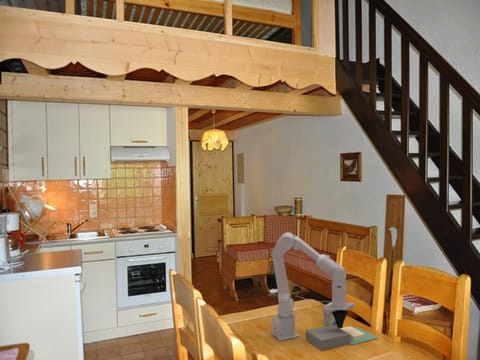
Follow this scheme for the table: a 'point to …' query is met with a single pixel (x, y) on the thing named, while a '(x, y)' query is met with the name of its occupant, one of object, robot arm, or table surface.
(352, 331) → the white flat block
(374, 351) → the table surface
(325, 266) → the robot arm
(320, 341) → the block
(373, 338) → the mat
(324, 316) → the medicine box
